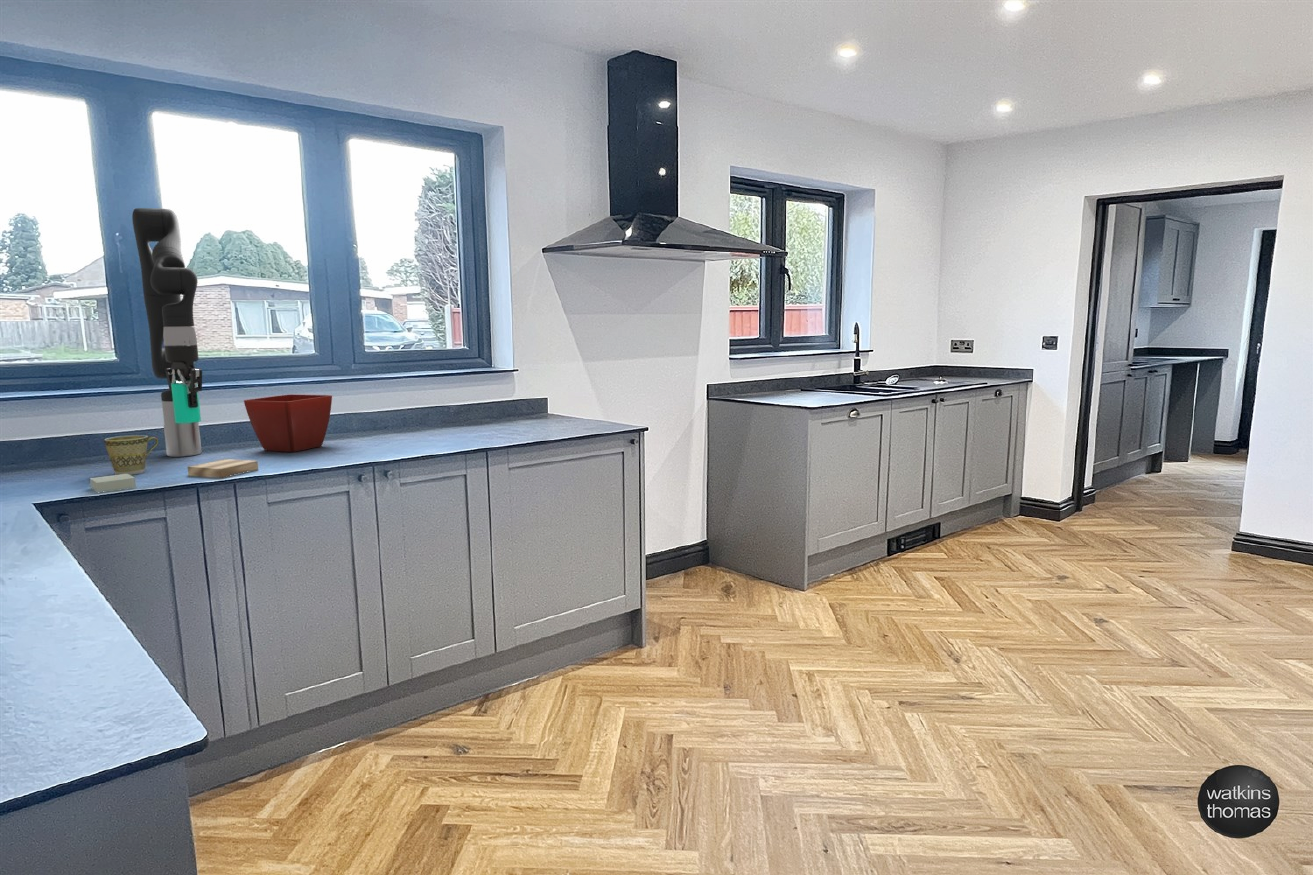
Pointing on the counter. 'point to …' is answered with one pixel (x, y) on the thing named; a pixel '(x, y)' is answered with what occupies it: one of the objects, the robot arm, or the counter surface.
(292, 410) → the plant pot
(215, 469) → the oak block
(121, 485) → the sage block
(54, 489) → the counter surface
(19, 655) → the counter surface
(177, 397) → the candle
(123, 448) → the ceramic cup
